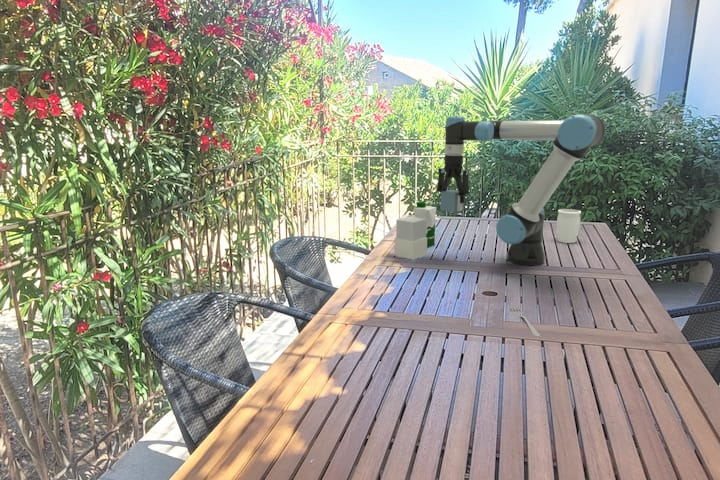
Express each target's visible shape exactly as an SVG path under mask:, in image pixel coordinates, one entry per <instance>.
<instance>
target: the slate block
mask: <svg viewBox="0 0 720 480" xmlns="http://www.w3.org/2000/svg"><path fill="white" fill-rule="evenodd" d="M458 195H460V194H459V191H458V190H453V189H447V190H446V191H442V192H441V193H440V211H442V212H448V213H458V212H460V211H457V205H458ZM464 207H465V202H464V203H463V208H462V211H464V210H465V208H464Z"/></svg>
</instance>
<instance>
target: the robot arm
mask: <svg viewBox="0 0 720 480" xmlns="http://www.w3.org/2000/svg"><path fill="white" fill-rule="evenodd" d="M444 128H445V131H444V133H445V135H444V137H445V143H444V154H445V155H444V167H441V168H438V169H437V170H438V171H437V172H438V179H437V187H436V191H437V192H439V194H441V192H442V191H447V190H448V187H449V185H450V181H451V179H452V178H454V179H453V180H455V183H456V187H457V191H459V194H460V195H458V205H457V211H459V212H461V211H462V208H463V203H464V204H465V196H467V195H468V194H470V187H469V186H470V185H469V184H470V183H469V173H470V170H469V169H464V168H463V163H464V156H463V154H464V143H465V141H475V142H477V141H479V142H487V141H488V142H489V141H491V140H501V141H502V140H506V141H507V140H508V141H510V140H513V141H514V140H515V141H516V140H517V141H519V140H520V141H552V146H553V150H552V151H551V153H550V155H549V156H547V157H548V158H547V159H546V160H545V162H544V163H543V164H542V166H541V168H540V169H539V171H538V172H537V174H536V175H535V177H534V178H533V180H532V181H531V183H530V184H529V186H528V187H527V189H526V190H525V192H524V194H523V195H522V197H521V198H520V200H519V201H518V202H514V203H512V204H511V206H510V207H509V209H508V211H507V212H506V213H505V214H504V215H502V216H501V217H500V218H499V219H498V221H497V222H496V225H495V226H496V227H495V230H496V234H497V236H498V237H499V239H500V241H503V242H504V243H506V244H508V245H510V246H509V248H508V250H507V253H506V260H507V261H509V262H511V263H512V264H513V263H514V264H518V265H525V266H537V265H542V264H544V263H546V255H545V251H544V247H543V232H544V222H545V208H544V207H545V206H546V204H547V203H548V202H549V200H550V198H551V197H552V195H553V194H554V193H555V191H556V189H558V187H559V185H560V184H561V182H562V181H563V180H564V178H565V176H566V175H567V174H568V172H569V171H570V169H571V168H572V167H573V165H575V164H574V163H575V162H577V161H581V160H583V158H584V157H585V155H586V154H587V153H588V151H589V150H590V149H591V147H594V146H596V145H597V144H599V143H600V142H601V141H603V138H604V137H605V133H606V125H605V122H603V120H602V119H601V118H600V117H599V116H597V115H595V114H582V113H579V114H574V115H571V116H569V117H567V118H566V119H564V120H559V119H556V120H554V119H553V120H552V119H551V120H549V119H548V120H479V121H476V120H475V121H472V120H471V121H466V119H465V117H464V116H447V117H446V118H445V127H444Z"/></svg>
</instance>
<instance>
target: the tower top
mask: <svg viewBox="0 0 720 480" xmlns="http://www.w3.org/2000/svg"><path fill="white" fill-rule="evenodd" d="M395 225H396V227H395V228H396V232H395V233H396V234H395V238H399V239H404V240H409V241H416V240H419V239H422V238H426V219H421V218H415V216H407V217H403V218H398V219H396V224H395Z"/></svg>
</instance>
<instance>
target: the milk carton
mask: <svg viewBox="0 0 720 480" xmlns="http://www.w3.org/2000/svg"><path fill="white" fill-rule="evenodd" d="M413 211H414V212H413V213H414V217H415V218H421V219H426V237H427V249H428V248H429V247H432V246H435V243H436V242H435V240H436V239H435V238H436V236H435V235H436V233H435V232H436V214H437V207H436V206H431V205H427V202H425V201H418V202H416V206H414V207H413Z"/></svg>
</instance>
